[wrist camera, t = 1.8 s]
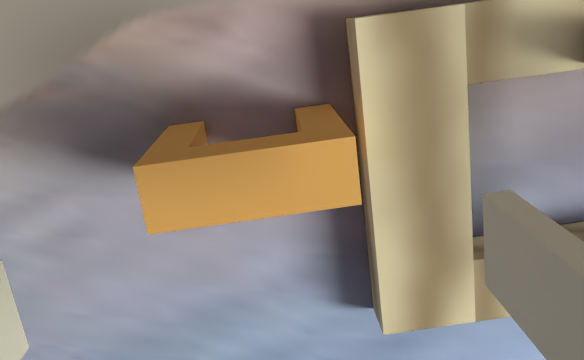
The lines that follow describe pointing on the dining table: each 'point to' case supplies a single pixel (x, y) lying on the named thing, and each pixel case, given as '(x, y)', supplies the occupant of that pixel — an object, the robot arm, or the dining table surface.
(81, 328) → the dining table surface
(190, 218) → the orange u-shaped bracket
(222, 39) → the dining table surface
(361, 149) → the beige open frame
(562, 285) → the robot arm
